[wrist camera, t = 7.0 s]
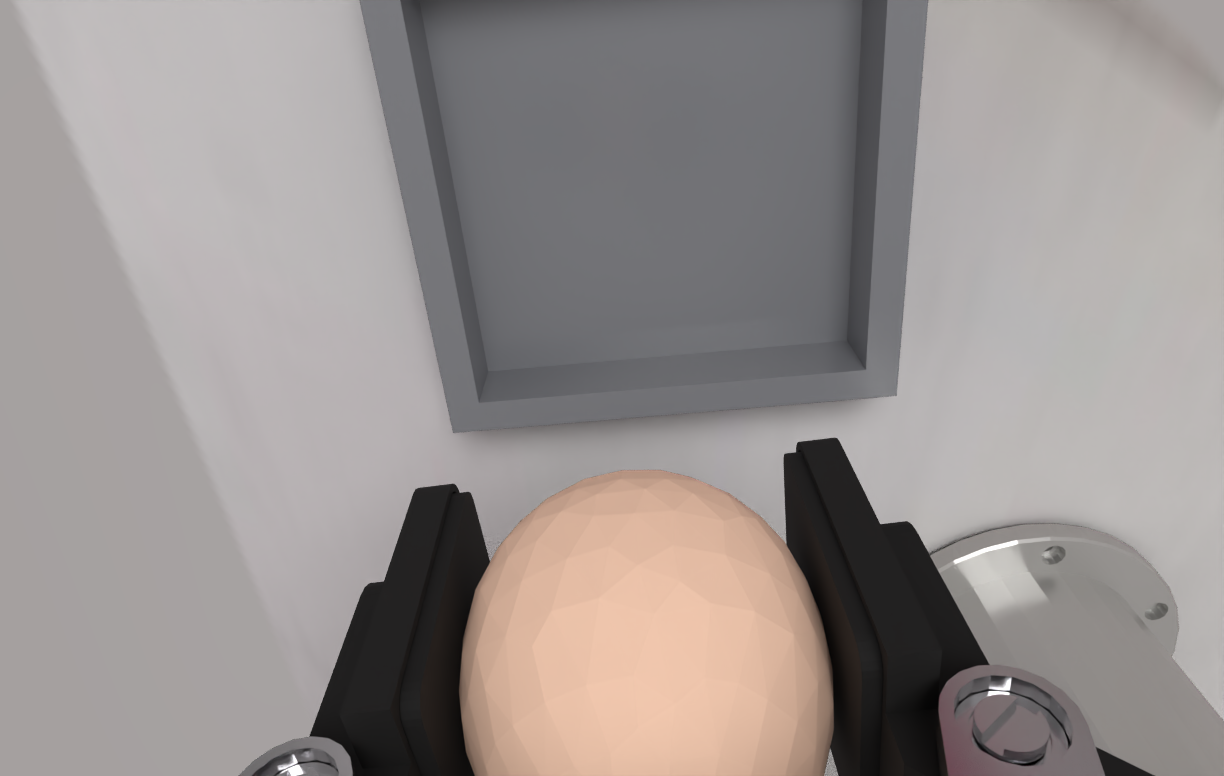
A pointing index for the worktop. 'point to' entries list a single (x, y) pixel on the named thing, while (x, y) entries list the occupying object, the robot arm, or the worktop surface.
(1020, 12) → the worktop surface
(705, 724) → the egg
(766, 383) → the dish
